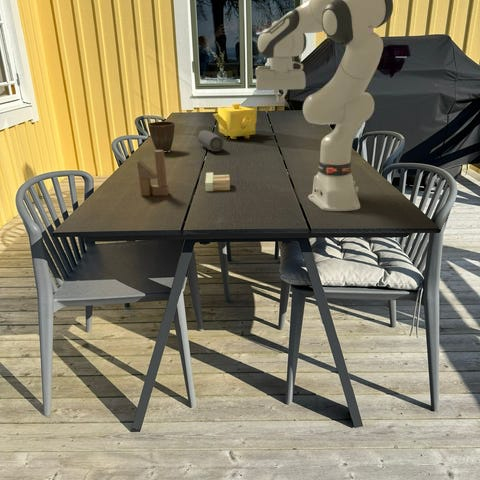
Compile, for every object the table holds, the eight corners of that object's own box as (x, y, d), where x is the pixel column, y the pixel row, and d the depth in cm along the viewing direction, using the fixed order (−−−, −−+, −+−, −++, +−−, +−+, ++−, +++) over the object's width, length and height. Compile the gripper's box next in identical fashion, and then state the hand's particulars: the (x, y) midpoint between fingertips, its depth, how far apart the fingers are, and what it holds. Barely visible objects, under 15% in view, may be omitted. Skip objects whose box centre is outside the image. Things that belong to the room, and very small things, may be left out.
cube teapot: (205, 135, 291) (203, 103, 282) (245, 131, 302) (244, 99, 293) (225, 144, 262) (224, 108, 253) (268, 139, 273) (269, 104, 264)
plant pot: (179, 149, 254) (177, 121, 247) (173, 154, 240) (171, 125, 234) (155, 149, 255) (152, 121, 249) (147, 154, 242) (144, 125, 235)
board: (212, 190, 178) (212, 182, 176) (205, 191, 177) (205, 183, 176) (213, 180, 192) (213, 172, 191) (206, 180, 192) (206, 172, 191)
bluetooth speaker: (224, 152, 242) (224, 134, 238) (209, 154, 239) (208, 136, 235) (212, 145, 262) (211, 128, 258) (197, 146, 259) (196, 129, 255)
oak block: (230, 190, 179) (229, 179, 177) (213, 190, 178) (212, 180, 177) (229, 184, 186) (229, 174, 184) (213, 185, 186) (212, 175, 184)
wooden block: (143, 193, 177) (138, 149, 170) (169, 193, 176) (165, 149, 169) (141, 196, 174) (135, 151, 166) (167, 195, 173) (163, 151, 166)
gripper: (255, 66, 169) (256, 102, 175) (307, 64, 170) (305, 101, 176) (254, 65, 175) (254, 101, 181) (304, 64, 176) (302, 99, 181)
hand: (280, 101), depth 178 cm, fingers closed
